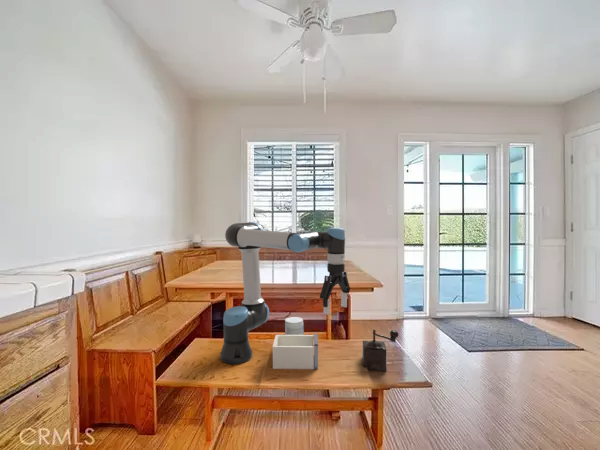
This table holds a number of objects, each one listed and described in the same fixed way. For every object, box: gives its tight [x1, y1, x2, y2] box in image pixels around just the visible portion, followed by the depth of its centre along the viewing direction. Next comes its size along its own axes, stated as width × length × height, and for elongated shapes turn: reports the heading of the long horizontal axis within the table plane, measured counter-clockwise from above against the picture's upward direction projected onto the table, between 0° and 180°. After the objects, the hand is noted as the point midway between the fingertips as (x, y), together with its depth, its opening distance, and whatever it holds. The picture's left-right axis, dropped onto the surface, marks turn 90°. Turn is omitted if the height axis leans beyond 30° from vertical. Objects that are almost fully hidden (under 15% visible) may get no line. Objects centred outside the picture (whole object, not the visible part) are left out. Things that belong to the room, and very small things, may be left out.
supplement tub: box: [284, 316, 305, 335], centre depth 171 cm, size 10×10×15 cm
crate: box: [272, 334, 315, 370], centre depth 154 cm, size 18×14×11 cm
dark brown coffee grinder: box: [361, 329, 399, 372], centre depth 151 cm, size 16×11×18 cm
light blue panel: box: [313, 333, 319, 370], centre depth 153 cm, size 2×14×11 cm, turn 178°
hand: (335, 310), depth 148 cm, fingers open, 13 cm apart
